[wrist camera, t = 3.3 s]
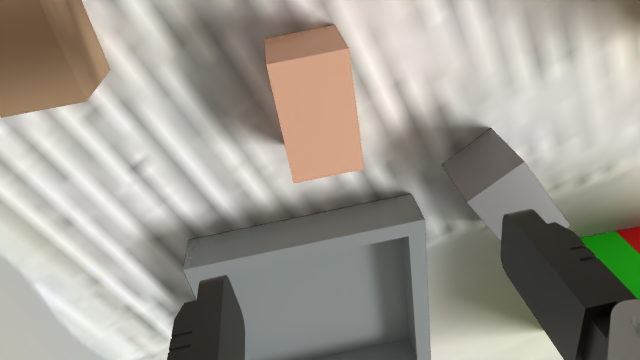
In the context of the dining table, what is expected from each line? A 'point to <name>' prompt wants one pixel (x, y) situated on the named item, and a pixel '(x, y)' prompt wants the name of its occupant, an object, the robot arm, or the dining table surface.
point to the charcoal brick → (498, 182)
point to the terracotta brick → (315, 102)
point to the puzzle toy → (619, 255)
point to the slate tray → (327, 283)
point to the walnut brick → (47, 55)
